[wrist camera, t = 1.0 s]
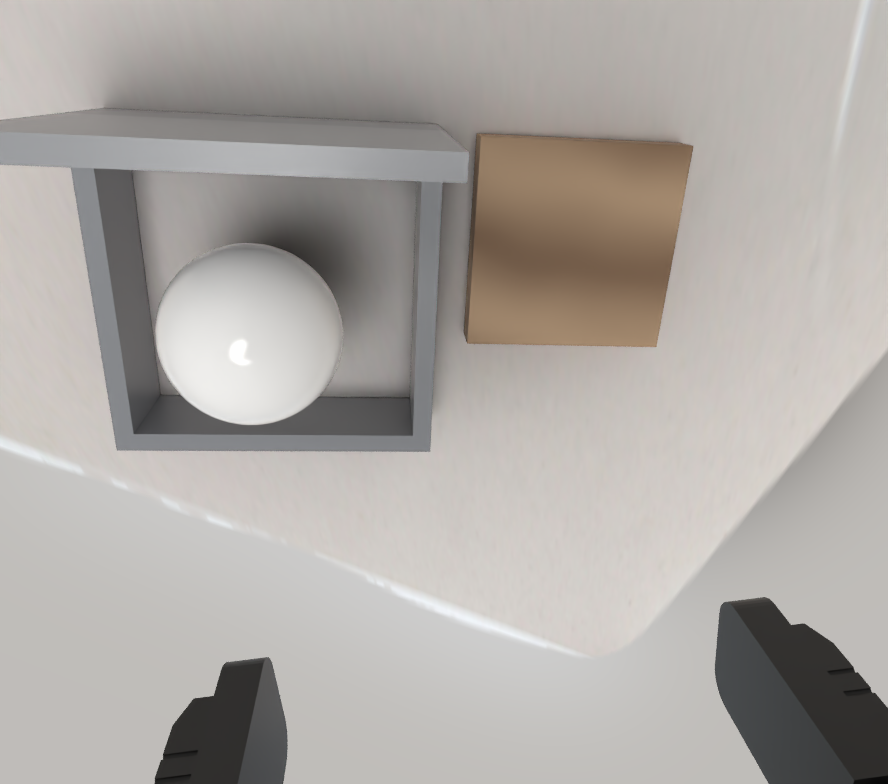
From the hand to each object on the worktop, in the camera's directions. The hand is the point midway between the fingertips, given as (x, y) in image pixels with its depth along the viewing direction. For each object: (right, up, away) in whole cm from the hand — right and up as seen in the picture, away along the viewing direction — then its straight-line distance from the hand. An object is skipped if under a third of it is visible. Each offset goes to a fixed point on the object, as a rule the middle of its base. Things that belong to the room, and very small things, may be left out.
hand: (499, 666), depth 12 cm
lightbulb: (-8, +10, +20) cm, 24 cm away
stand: (+5, +12, +20) cm, 23 cm away
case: (-8, +10, +19) cm, 23 cm away
